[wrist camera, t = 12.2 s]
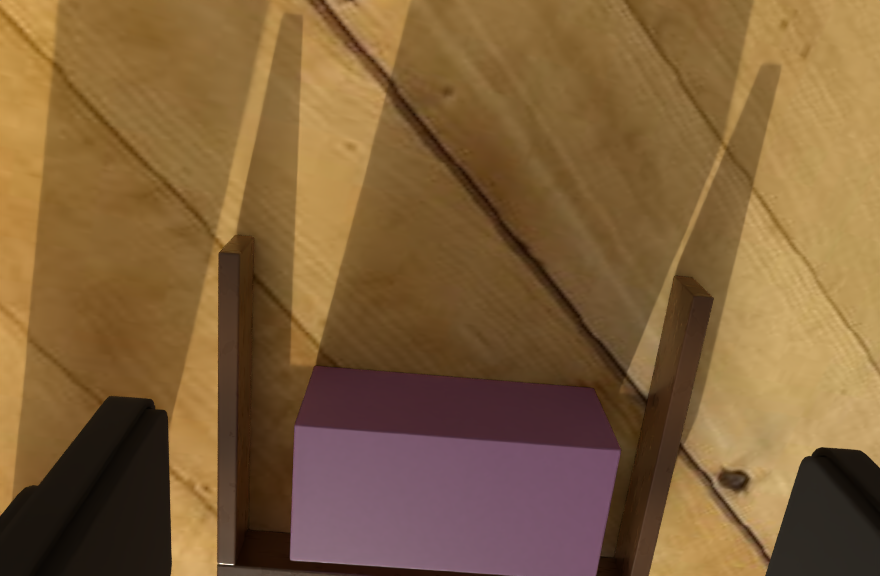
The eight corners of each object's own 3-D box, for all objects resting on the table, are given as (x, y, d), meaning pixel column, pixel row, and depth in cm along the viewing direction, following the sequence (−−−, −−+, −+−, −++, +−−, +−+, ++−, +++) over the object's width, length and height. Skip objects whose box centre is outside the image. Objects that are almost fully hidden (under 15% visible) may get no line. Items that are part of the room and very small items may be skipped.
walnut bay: (234, 234, 30) (217, 252, 28) (692, 276, 31) (714, 297, 28) (231, 542, 35) (216, 580, 32) (627, 572, 36) (640, 610, 33)
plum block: (314, 365, 32) (294, 424, 27) (594, 387, 32) (622, 449, 28) (309, 486, 34) (289, 560, 29) (573, 505, 34) (595, 581, 30)
